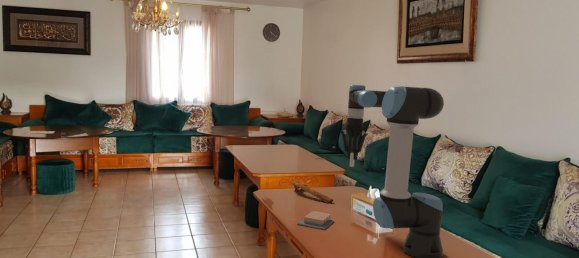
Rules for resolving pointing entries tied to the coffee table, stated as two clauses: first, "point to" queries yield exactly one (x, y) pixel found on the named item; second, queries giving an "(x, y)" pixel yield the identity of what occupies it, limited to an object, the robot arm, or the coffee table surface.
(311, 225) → the pad
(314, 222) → the tile
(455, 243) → the coffee table surface
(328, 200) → the brown curved bar
